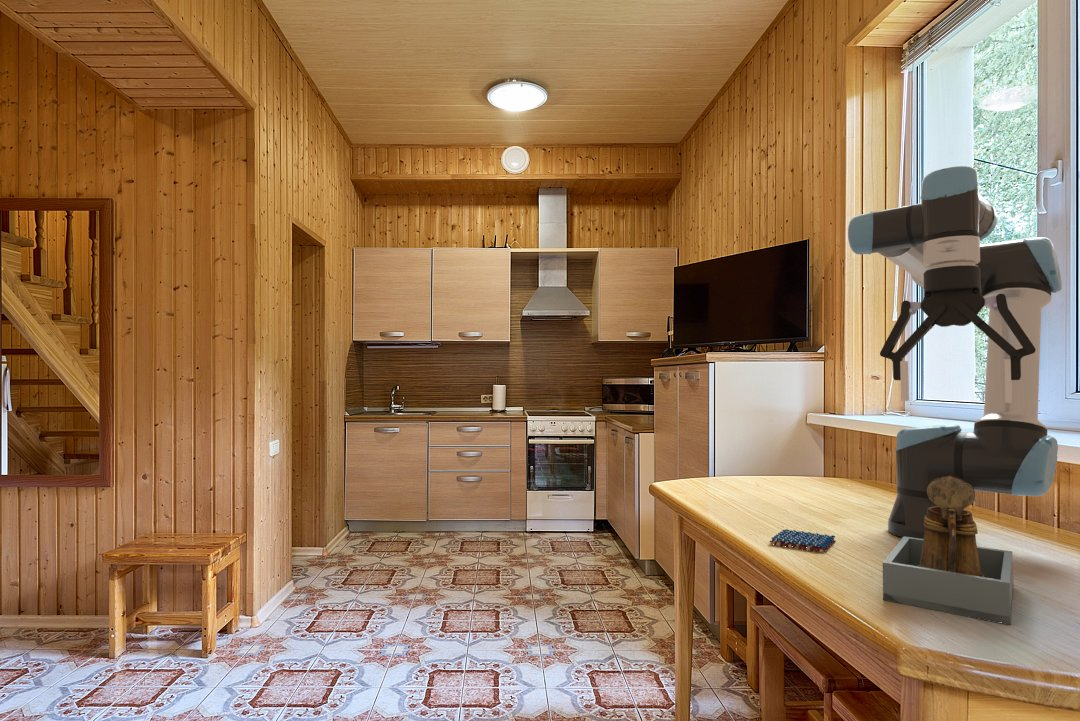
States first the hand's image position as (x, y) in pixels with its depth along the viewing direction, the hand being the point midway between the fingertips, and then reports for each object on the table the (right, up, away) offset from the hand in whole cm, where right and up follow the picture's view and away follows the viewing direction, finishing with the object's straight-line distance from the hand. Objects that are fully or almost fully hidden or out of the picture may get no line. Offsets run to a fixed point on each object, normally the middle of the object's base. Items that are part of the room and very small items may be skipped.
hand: (954, 401), depth 97 cm
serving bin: (-3, -29, -3) cm, 29 cm away
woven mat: (-13, -31, +26) cm, 42 cm away
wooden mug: (-3, -28, -3) cm, 29 cm away
